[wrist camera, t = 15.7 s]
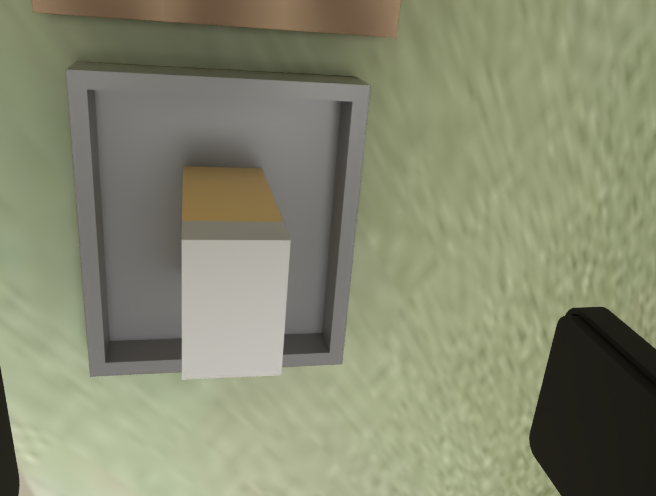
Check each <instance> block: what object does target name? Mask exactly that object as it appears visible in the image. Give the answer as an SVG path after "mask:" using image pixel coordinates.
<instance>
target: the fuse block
mask: <svg viewBox="0 0 656 496" xmlns="http://www.w3.org/2000/svg"><path fill="white" fill-rule="evenodd" d="M290 243H291V240H290V237H289V235H288V232H287V230H286V227H285V225H284V222H283V220H282V217H281V215H280V212H279V210H278V207H277V205H276V202H275V200H274V197H273V195H272V192H271V190H270V187H269V185H268V183H267V180H266V178H265V175H264V173H263V170H262V168H229V167H195V166H183V193H182V380H184V379H206V378H229V377H251V376H273V375H282V360H283V345H284V331H285V316H286V302H287V287H288V273H289V258H290Z"/></svg>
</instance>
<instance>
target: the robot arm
mask: <svg viewBox="0 0 656 496" xmlns="http://www.w3.org/2000/svg"><path fill="white" fill-rule="evenodd" d="M529 441H530V447H531V450H532V453H533V455H534V457H535V458H536V460H537V461H538V462H539V464H540V465H541V467H542V468H543V470H544V471H545V473H546V474H547V476H548V477H549V478H550V480H551V481H552V483H553V484H554V486H555V487H556V489H557V490H558V492H559V493H560V494H561V496H656V349H655V348H654V347H652V346H651V345H650V344H649V343H648V342H646V341H645V340H644V339H643V338H642V337H641V336H639V335H638V334H637V333H636V332H635V331H633V330H632V329H631V328H630V327H629V326H627V325H626V324H625V323H624V322H623V321H621V320H620V319H619V318H618V317H617V316H615V315H614V314H613V313H612V312H611V311H609V310H608V309H606V308H604V307H584V308H572V309H570V310H569V311H568V312H567V313H566V315H565V316H563V317H561V318H560V319H559V321H558V323H557V327H556V331H555V335H554V339H553V343H552V347H551V351H550V355H549V359H548V363H547V367H546V371H545V375H544V379H543V383H542V387H541V391H540V395H539V399H538V403H537V407H536V411H535V415H534V419H533V423H532V427H531V431H530V436H529ZM18 494H19V473H18V468H17V462H16V456H15V450H14V444H13V438H12V432H11V427H10V421H9V415H8V409H7V403H6V397H5V391H4V386H3V380H2V374H1V368H0V496H18Z"/></svg>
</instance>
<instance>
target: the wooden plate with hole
mask: <svg viewBox="0 0 656 496" xmlns="http://www.w3.org/2000/svg"><path fill="white" fill-rule="evenodd" d="M400 4H401V0H32V6H33V12H36V13H50V14H64V15H78V16H93V17H107V18H121V19H136V20H150V21H164V22H179V23H193V24H207V25H222V26H236V27H250V28H264V29H279V30H293V31H307V32H322V33H336V34H350V35H365V36H379V37H393V38H397V30H398V22H399V13H400Z"/></svg>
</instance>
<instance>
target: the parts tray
mask: <svg viewBox="0 0 656 496" xmlns="http://www.w3.org/2000/svg"><path fill="white" fill-rule="evenodd" d="M66 78H67V91H68V103H69V116H70V129H71V141H72V154H73V167H74V179H75V192H76V205H77V218H78V230H79V243H80V256H81V268H82V281H83V294H84V306H85V319H86V332H87V344H88V357H89V370H90V377H93V376H113V375H133V374H153V373H174V372H182V193H183V166H195V167H229V168H262V170H263V173H264V175H265V178H266V180H267V183H268V185H269V187H270V190H271V192H272V195H273V197H274V200H275V202H276V205H277V207H278V210H279V212H280V215H281V217H282V220H283V222H284V225H285V227H286V230H287V232H288V235H289V237H290V240H291V243H290V258H289V273H288V287H287V302H286V316H285V331H284V345H283V360H282V367H295V366H316V365H336V364H342V361H343V351H344V341H345V331H346V321H347V311H348V301H349V292H350V282H351V272H352V262H353V252H354V242H355V232H356V222H357V213H358V203H359V193H360V183H361V173H362V163H363V153H364V143H365V134H366V124H367V114H368V104H369V94H370V85H369V84H367V83H365V82H364V81H362V80H360V79H358V78H357V77H352V76H333V75H315V74H297V73H279V72H260V71H242V70H224V69H205V68H187V67H169V66H151V65H132V64H114V63H96V62H76V63H74V64H73V65H71V66H70V67H69V68H67V69H66Z"/></svg>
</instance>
